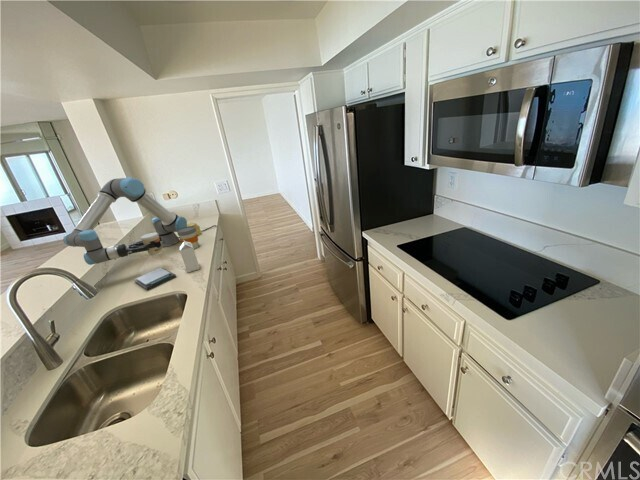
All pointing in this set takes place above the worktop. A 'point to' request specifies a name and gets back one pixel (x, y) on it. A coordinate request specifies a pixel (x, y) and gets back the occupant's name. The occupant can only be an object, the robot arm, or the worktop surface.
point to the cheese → (195, 227)
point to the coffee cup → (150, 239)
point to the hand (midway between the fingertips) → (160, 241)
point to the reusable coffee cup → (189, 235)
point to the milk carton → (189, 256)
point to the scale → (154, 278)
